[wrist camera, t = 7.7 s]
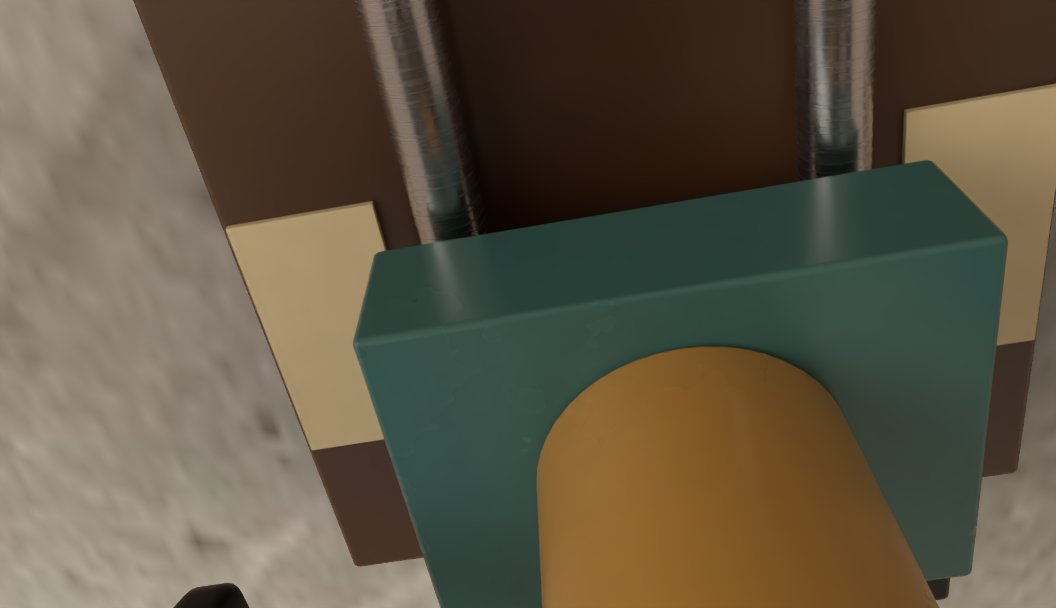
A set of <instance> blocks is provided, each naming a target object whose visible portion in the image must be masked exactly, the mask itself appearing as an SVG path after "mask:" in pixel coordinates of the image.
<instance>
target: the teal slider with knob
mask: <svg viewBox="0 0 1056 608" xmlns="http://www.w3.org/2000/svg"><path fill="white" fill-rule="evenodd" d="M1007 248H1008V239H1007V237H1006V235H1005V234H1004V233H1003V232H1002V230H1001V229H1000V228H999V227H998V226H997V225H996V224H995V223H994V222H993V221H992V220H991V219H990V218H989V217H988V216H987V215H986V214H985V213H984V212H983V211H982V210H981V209H980V208H979V207H978V206H977V205H976V204H975V203H974V202H973V201H972V200H971V199H970V198H969V197H968V196H967V195H966V194H965V193H964V192H963V191H962V190H961V189H960V188H959V187H958V186H957V185H956V184H955V183H954V182H953V181H952V180H951V179H950V178H949V177H948V176H947V175H946V174H945V173H944V172H943V171H942V170H941V169H940V168H939V167H938V166H937V165H936V164H935V163H934V162H933V161H929V160H923V161H917V162H911V163H905V164H899V165H893V166H887V167H881V168H875V169H869V170H863V171H858V172H852V173H846V174H840V175H834V176H828V177H822V178H816V179H810V180H804V181H798V182H792V183H786V184H780V185H774V186H768V187H762V188H756V189H750V190H744V191H738V192H732V193H726V194H720V195H714V196H709V197H703V198H697V199H691V200H685V201H679V202H673V203H667V204H661V205H655V206H649V207H643V208H637V209H631V210H625V211H619V212H613V213H607V214H601V215H595V216H589V217H583V218H577V219H571V220H565V221H560V222H554V223H548V224H542V225H536V226H530V227H524V228H518V229H512V230H506V231H500V232H494V233H488V234H482V235H476V236H470V237H464V238H458V239H452V240H446V241H440V242H434V243H428V244H422V245H416V246H411V247H405V248H399V249H393V250H387V251H381V252H378V253H376V254H375V255H374V258H373V262H372V266H371V270H370V274H369V278H368V282H367V287H366V291H365V295H364V299H363V303H362V307H361V311H360V315H359V320H358V324H357V328H356V332H355V336H354V340H353V347H354V350H355V353H356V356H357V359H358V362H359V365H360V368H361V371H362V374H363V377H364V380H365V383H366V386H367V389H368V392H369V395H370V398H371V401H372V404H373V407H374V410H375V413H376V416H377V419H378V422H379V425H380V428H381V431H382V434H383V437H384V440H385V443H386V446H387V449H388V452H389V455H390V458H391V461H392V464H393V467H394V470H395V473H396V476H397V479H398V482H399V485H400V488H401V491H402V494H403V497H404V500H405V503H406V506H407V509H408V512H409V515H410V518H411V521H412V524H413V527H414V530H415V533H416V536H417V539H418V542H419V545H420V548H421V551H422V554H423V557H424V560H425V563H426V566H427V569H428V572H429V575H430V578H431V581H432V584H433V587H434V590H435V593H436V596H437V599H438V602H439V605H440V608H939V606H938V604H937V602H936V600H935V598H934V596H933V594H932V592H931V590H930V588H929V586H928V584H927V582H926V581H929V580H936V579H944V578H951V577H958V576H966V575H968V574H970V573H971V570H972V561H973V552H974V543H975V534H976V525H977V516H978V508H979V499H980V490H981V481H982V472H983V463H984V454H985V445H986V436H987V427H988V418H989V409H990V400H991V391H992V382H993V373H994V365H995V356H996V347H997V338H998V329H999V320H1000V311H1001V302H1002V293H1003V284H1004V275H1005V266H1006V257H1007Z"/></svg>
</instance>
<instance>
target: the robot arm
mask: <svg viewBox="0 0 1056 608" xmlns="http://www.w3.org/2000/svg"><path fill="white" fill-rule="evenodd" d="M174 608H249V606H248V604H247V602H246V600H245V598H244V596H243V594H242V592H241V591H240V589H239V588H238V587H237V586H236V585H234V584H232V583H223V584H216V585H209V586H202V587H197V588H194V589H192V590H190V591H189V592H188V593H187V594H186V595H185V596H183V598H182V599H181V600H180V601H179V602H178V603H177V604H176V605H175V606H174Z"/></svg>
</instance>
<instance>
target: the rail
mask: <svg viewBox="0 0 1056 608" xmlns="http://www.w3.org/2000/svg"><path fill="white" fill-rule="evenodd" d="M133 1H134V3H135V6H136V8H137V11H138V13H139V16H140V19H141V21H142V24H143V26H144V29H145V31H146V34H147V36H148V39H149V41H150V44H151V47H152V49H153V52H154V54H155V57H156V59H157V62H158V64H159V67H160V70H161V72H162V75H163V77H164V80H165V82H166V85H167V87H168V90H169V92H170V95H171V98H172V100H173V103H174V105H175V108H176V110H177V113H178V115H179V118H180V120H181V123H182V126H183V128H184V131H185V133H186V136H187V138H188V141H189V143H190V146H191V149H192V151H193V154H194V156H195V159H196V161H197V164H198V166H199V169H200V171H201V174H202V177H203V179H204V182H205V184H206V187H207V189H208V192H209V194H210V197H211V199H212V202H213V205H214V207H215V210H216V212H217V215H218V217H219V220H220V222H221V225H222V227H223V230H224V233H225V235H226V238H227V240H228V243H229V245H230V248H231V250H232V253H233V256H234V258H235V261H236V263H237V266H238V268H239V271H240V273H241V276H242V278H243V281H244V284H245V286H246V289H247V291H248V294H249V296H250V299H251V301H252V304H253V306H254V309H255V312H256V314H257V317H258V319H259V322H260V324H261V327H262V329H263V332H264V335H265V337H266V340H267V342H268V345H269V347H270V350H271V352H272V355H273V357H274V360H275V363H276V365H277V368H278V370H279V373H280V375H281V378H282V380H283V383H284V385H285V388H286V391H287V393H288V396H289V398H290V401H291V403H292V406H293V408H294V411H295V414H296V416H297V419H298V421H299V424H300V426H301V429H302V431H303V434H304V436H305V439H306V442H307V444H308V447H309V449H310V452H311V454H312V457H313V459H314V462H315V464H316V467H317V470H318V472H319V475H320V477H321V480H322V482H323V485H324V487H325V490H326V492H327V495H328V498H329V500H330V503H331V505H332V508H333V510H334V513H335V515H336V518H337V521H338V523H339V526H340V528H341V531H342V533H343V536H344V538H345V541H346V543H347V546H348V549H349V551H350V554H351V556H352V559H353V561H354V564H355V565H356V566H367V565H374V564H381V563H388V562H395V561H402V560H409V559H416V558H423V554H422V551H421V548H420V545H419V542H418V539H417V536H416V533H415V530H414V527H413V524H412V521H411V518H410V515H409V512H408V509H407V506H406V503H405V500H404V497H403V494H402V491H401V488H400V485H399V482H398V479H397V476H396V473H395V470H394V467H393V464H392V461H391V458H390V455H389V452H388V449H387V446H386V443H385V440H384V437H383V434H382V431H381V428H380V425H379V422H378V419H377V416H376V413H375V410H374V407H373V404H372V401H371V398H370V395H369V392H368V389H367V386H366V383H365V380H364V377H363V374H362V371H361V368H360V365H359V362H358V359H357V356H356V353H355V350H354V347H353V340H354V336H355V332H356V328H357V324H358V320H359V315H360V311H361V307H362V303H363V299H364V295H365V291H366V287H367V282H368V278H369V274H370V270H371V266H372V262H373V258H374V255H375V254H376V253H378V252H381V251H387V250H393V249H399V248H405V247H411V246H416V245H422V244H428V243H434V242H440V241H446V240H452V239H458V238H464V237H470V236H476V235H482V234H488V233H494V232H500V231H506V230H512V229H518V228H524V227H530V226H536V225H542V224H548V223H554V222H560V221H565V220H571V219H577V218H583V217H589V216H595V215H601V214H607V213H613V212H619V211H625V210H631V209H637V208H643V207H649V206H655V205H661V204H667V203H673V202H679V201H685V200H691V199H697V198H703V197H709V196H714V195H720V194H726V193H732V192H738V191H744V190H750V189H756V188H762V187H768V186H774V185H780V184H786V183H792V182H798V181H804V180H810V179H816V178H822V177H828V176H834V175H840V174H846V173H852V172H858V171H863V170H869V169H875V168H881V167H887V166H893V165H899V164H905V163H911V162H917V161H923V160H929V161H933V162H934V163H935V164H936V165H937V166H938V167H939V168H940V169H941V170H942V171H943V172H944V173H945V174H946V175H947V176H948V177H949V178H950V179H951V180H952V181H953V182H954V183H955V184H956V185H957V186H958V187H959V188H960V189H961V190H962V191H963V192H964V193H965V194H966V195H967V196H968V197H969V198H970V199H971V200H972V201H973V202H974V203H975V204H976V205H977V206H978V207H979V208H980V209H981V210H982V211H983V212H984V213H985V214H986V215H987V216H988V217H989V218H990V219H991V220H992V221H993V222H994V223H995V224H996V225H997V226H998V227H999V228H1000V229H1001V230H1002V232H1003V233H1004V234H1005V235H1006V237H1007V239H1008V248H1007V257H1006V266H1005V275H1004V284H1003V293H1002V302H1001V311H1000V320H999V329H998V338H997V347H996V356H995V365H994V373H993V382H992V391H991V400H990V409H989V418H988V427H987V436H986V445H985V454H984V463H983V472H982V477H988V476H995V475H1002V474H1009V473H1013V472H1015V471H1016V470H1017V469H1018V461H1019V454H1020V447H1021V440H1022V432H1023V425H1024V418H1025V411H1026V403H1027V396H1028V389H1029V382H1030V374H1031V367H1032V360H1033V353H1034V345H1035V338H1036V331H1037V324H1038V317H1039V309H1040V302H1041V295H1042V288H1043V280H1044V273H1045V266H1046V259H1047V251H1048V244H1049V237H1050V230H1051V222H1052V215H1053V208H1054V201H1055V193H1056V0H133ZM926 582H927V584H928V586H929V588H930V590H931V592H932V594H933V596H934V598H935V600H941V599H945V598H947V597H948V594H949V583H950V578H944V579H936V580H929V581H926Z"/></svg>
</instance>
